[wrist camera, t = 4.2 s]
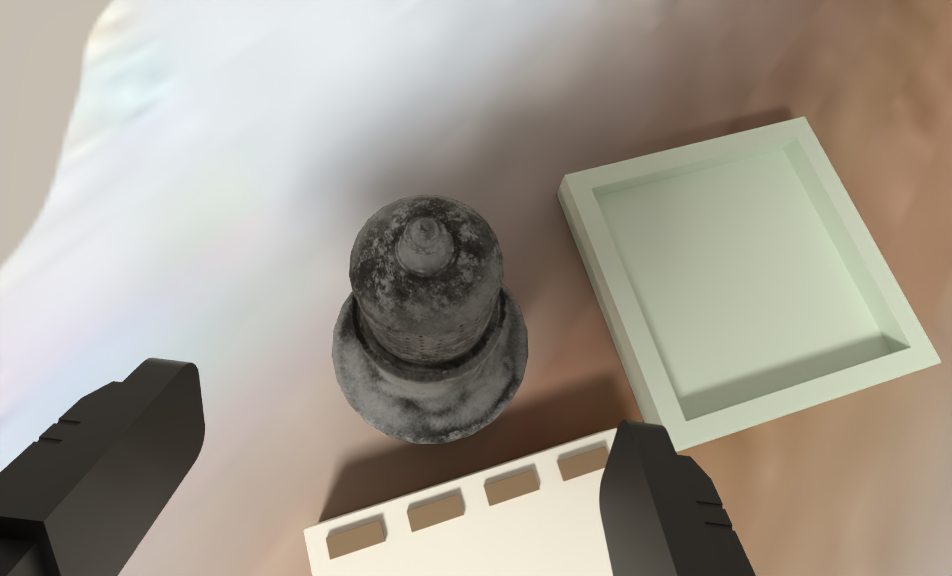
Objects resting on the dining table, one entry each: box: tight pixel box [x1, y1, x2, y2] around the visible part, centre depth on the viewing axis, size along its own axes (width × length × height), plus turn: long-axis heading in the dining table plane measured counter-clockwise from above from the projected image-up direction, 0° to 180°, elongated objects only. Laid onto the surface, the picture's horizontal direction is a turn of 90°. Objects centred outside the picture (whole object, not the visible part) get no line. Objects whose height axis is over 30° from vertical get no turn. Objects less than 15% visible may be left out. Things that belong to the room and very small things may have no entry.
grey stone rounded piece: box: [332, 195, 528, 444], centre depth 14 cm, size 6×6×12 cm
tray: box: [557, 116, 941, 452], centre depth 21 cm, size 11×11×2 cm
